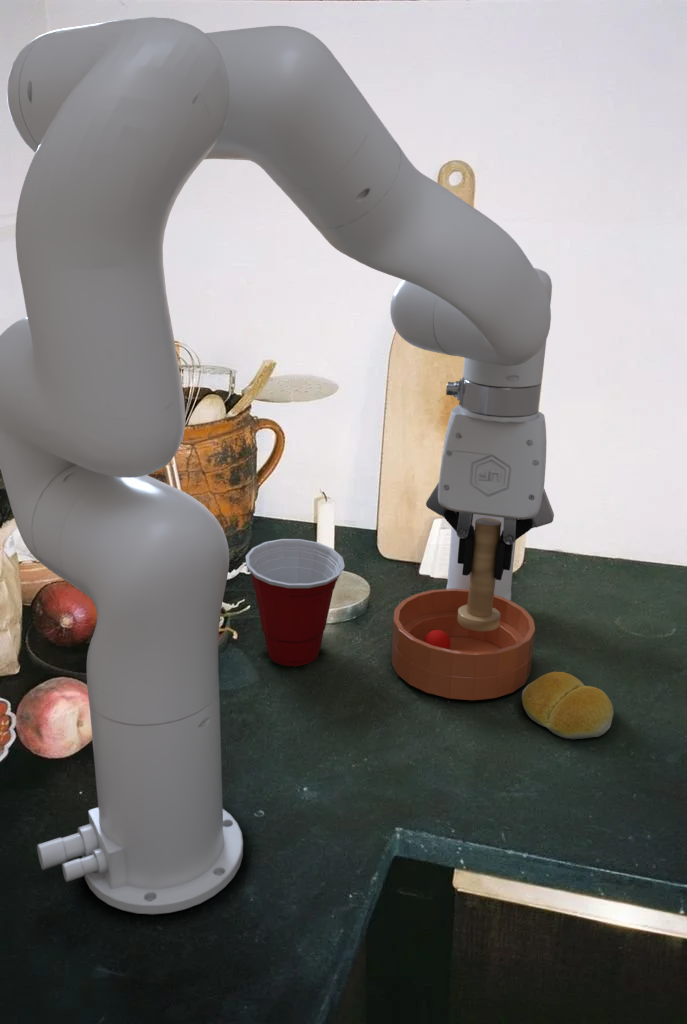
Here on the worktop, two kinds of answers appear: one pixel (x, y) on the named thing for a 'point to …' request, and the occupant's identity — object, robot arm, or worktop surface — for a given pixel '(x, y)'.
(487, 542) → the muddler
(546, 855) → the worktop surface
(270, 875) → the worktop surface
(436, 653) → the bowl
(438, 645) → the tomato
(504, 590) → the bottle
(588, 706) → the bread roll
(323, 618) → the plastic cup
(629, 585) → the worktop surface
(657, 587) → the worktop surface
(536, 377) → the robot arm
